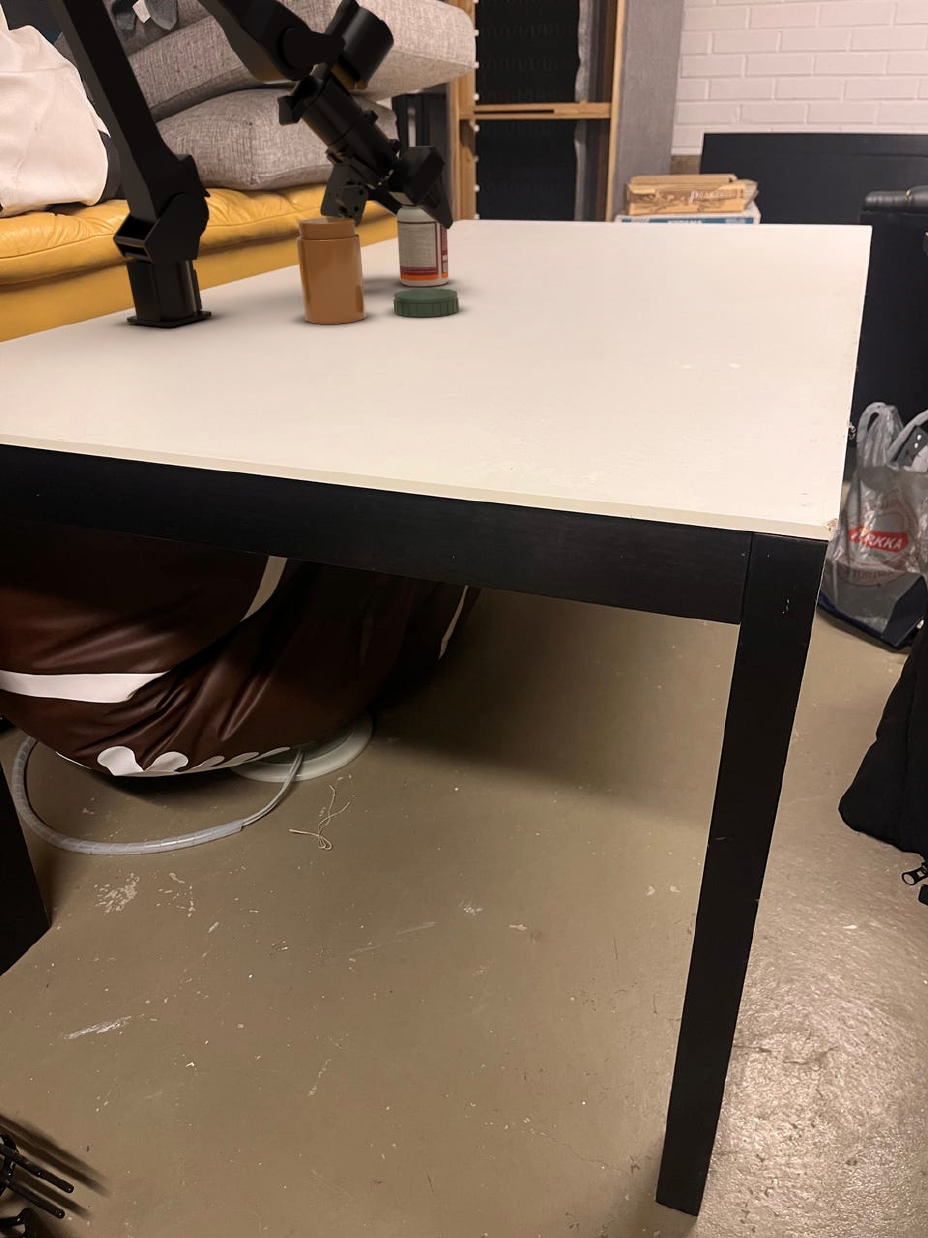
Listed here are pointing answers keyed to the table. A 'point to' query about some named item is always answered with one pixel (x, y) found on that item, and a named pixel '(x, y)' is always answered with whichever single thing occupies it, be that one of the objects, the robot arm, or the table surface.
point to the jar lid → (426, 302)
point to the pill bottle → (421, 248)
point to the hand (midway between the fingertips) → (430, 223)
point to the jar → (331, 271)
